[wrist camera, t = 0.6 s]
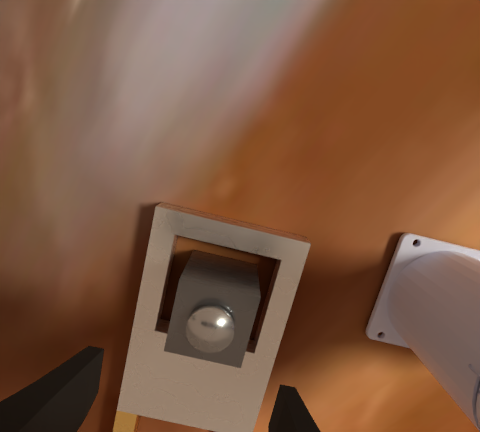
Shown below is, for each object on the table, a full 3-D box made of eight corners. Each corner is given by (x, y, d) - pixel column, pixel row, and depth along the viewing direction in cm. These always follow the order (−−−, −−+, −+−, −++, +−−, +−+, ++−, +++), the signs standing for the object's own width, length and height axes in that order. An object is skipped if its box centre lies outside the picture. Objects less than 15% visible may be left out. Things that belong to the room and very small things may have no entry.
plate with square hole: (306, 237, 21) (310, 243, 20) (225, 503, 26) (224, 524, 25) (161, 202, 21) (155, 206, 19) (107, 479, 26) (99, 499, 24)
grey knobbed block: (256, 264, 22) (261, 303, 16) (241, 320, 23) (240, 375, 17) (193, 249, 22) (177, 283, 16) (180, 307, 22) (160, 357, 17)
